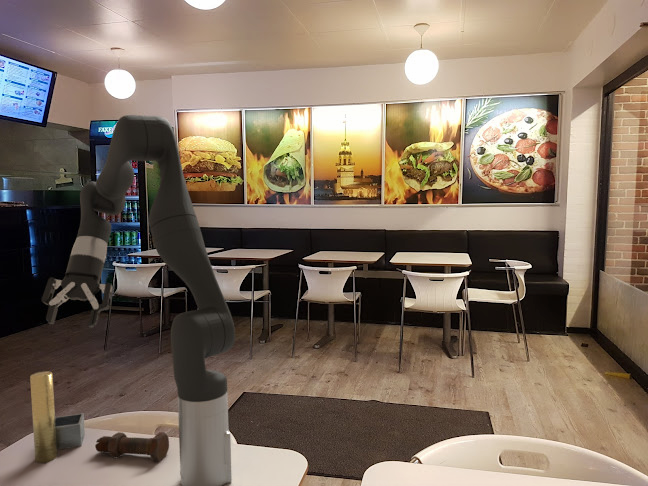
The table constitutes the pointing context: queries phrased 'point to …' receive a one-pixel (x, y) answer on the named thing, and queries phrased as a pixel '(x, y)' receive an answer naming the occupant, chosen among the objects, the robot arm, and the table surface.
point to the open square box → (69, 431)
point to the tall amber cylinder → (43, 416)
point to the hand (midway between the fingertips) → (70, 325)
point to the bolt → (134, 445)
